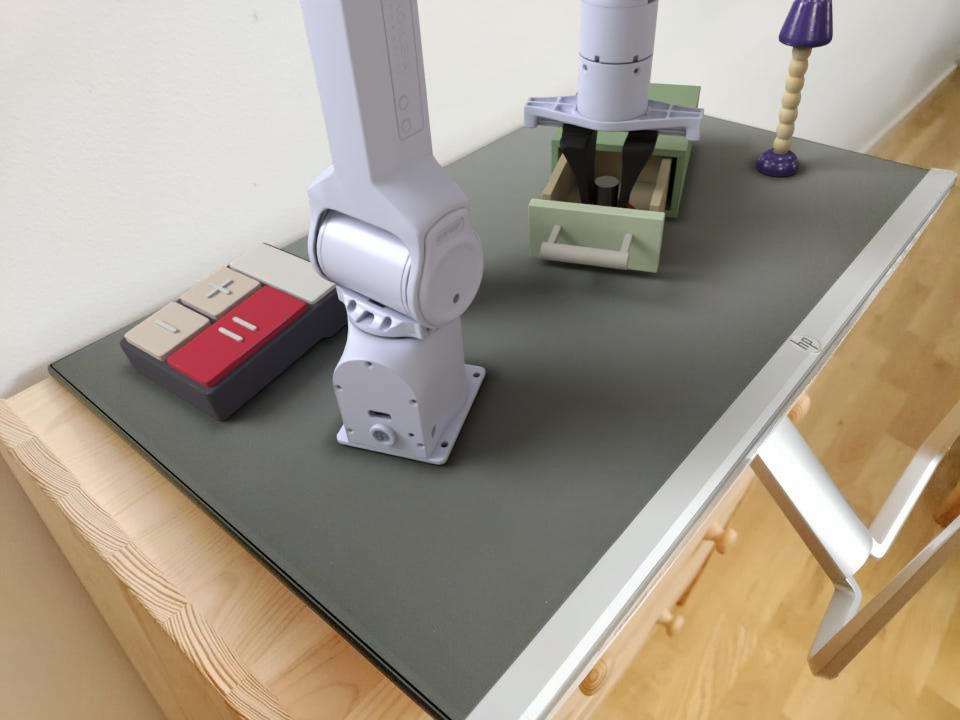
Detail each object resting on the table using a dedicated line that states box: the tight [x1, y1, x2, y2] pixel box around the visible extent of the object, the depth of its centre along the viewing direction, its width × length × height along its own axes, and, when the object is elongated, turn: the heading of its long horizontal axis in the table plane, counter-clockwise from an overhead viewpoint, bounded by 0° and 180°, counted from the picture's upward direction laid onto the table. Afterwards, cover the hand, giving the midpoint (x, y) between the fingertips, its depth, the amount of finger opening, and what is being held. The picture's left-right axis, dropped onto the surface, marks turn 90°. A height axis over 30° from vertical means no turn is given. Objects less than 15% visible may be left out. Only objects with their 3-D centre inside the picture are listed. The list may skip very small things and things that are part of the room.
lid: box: [579, 176, 636, 209], centre depth 64 cm, size 6×6×4 cm
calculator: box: [119, 242, 348, 422], centre depth 56 cm, size 11×4×15 cm
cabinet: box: [550, 82, 702, 219], centre depth 73 cm, size 15×12×7 cm
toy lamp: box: [755, 0, 834, 177], centre depth 69 cm, size 5×5×17 cm
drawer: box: [528, 150, 674, 274], centre depth 63 cm, size 19×11×5 cm, turn 162°
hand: (605, 206), depth 64 cm, fingers open, 3 cm apart
